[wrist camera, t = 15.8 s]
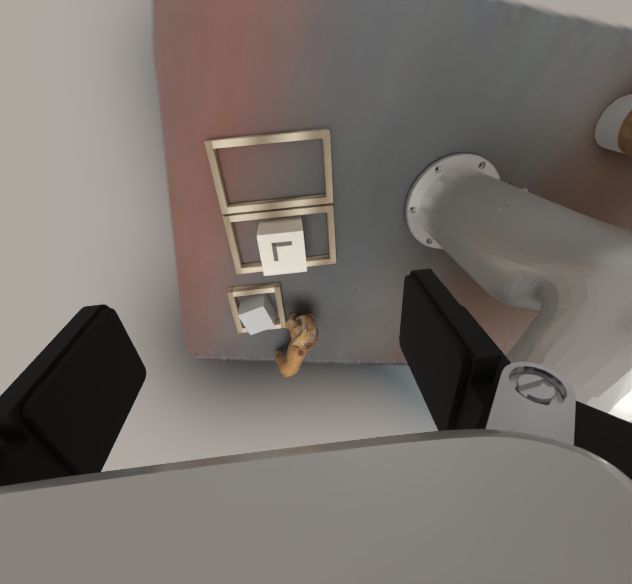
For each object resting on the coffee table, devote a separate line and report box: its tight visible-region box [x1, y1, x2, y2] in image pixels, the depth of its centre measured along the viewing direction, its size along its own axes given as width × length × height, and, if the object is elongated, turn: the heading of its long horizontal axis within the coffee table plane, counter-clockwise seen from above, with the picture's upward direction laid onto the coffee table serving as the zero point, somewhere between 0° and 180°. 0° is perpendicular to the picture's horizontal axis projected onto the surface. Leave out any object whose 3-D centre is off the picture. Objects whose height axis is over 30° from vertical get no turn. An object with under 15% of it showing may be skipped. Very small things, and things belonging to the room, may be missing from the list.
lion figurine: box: [275, 313, 318, 377], centre depth 48 cm, size 15×5×9 cm, turn 168°
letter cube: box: [257, 216, 307, 276], centre depth 41 cm, size 6×6×6 cm
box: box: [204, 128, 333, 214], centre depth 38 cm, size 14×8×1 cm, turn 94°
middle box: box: [223, 203, 336, 274], centre depth 43 cm, size 14×8×1 cm, turn 94°
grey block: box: [238, 293, 276, 335], centre depth 47 cm, size 4×4×4 cm
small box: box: [227, 282, 286, 333], centre depth 48 cm, size 8×8×1 cm
